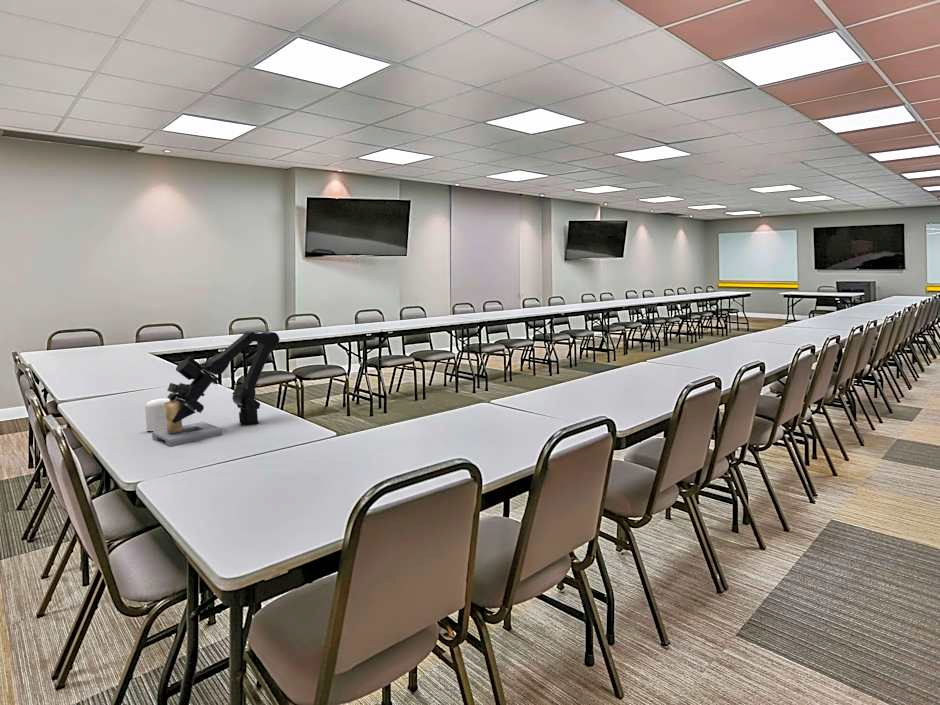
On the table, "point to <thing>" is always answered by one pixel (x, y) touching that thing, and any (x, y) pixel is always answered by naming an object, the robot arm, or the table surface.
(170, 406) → the ribbed peg
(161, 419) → the photo printer
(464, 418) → the table surface
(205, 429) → the keyhole plate
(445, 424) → the table surface
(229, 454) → the table surface
